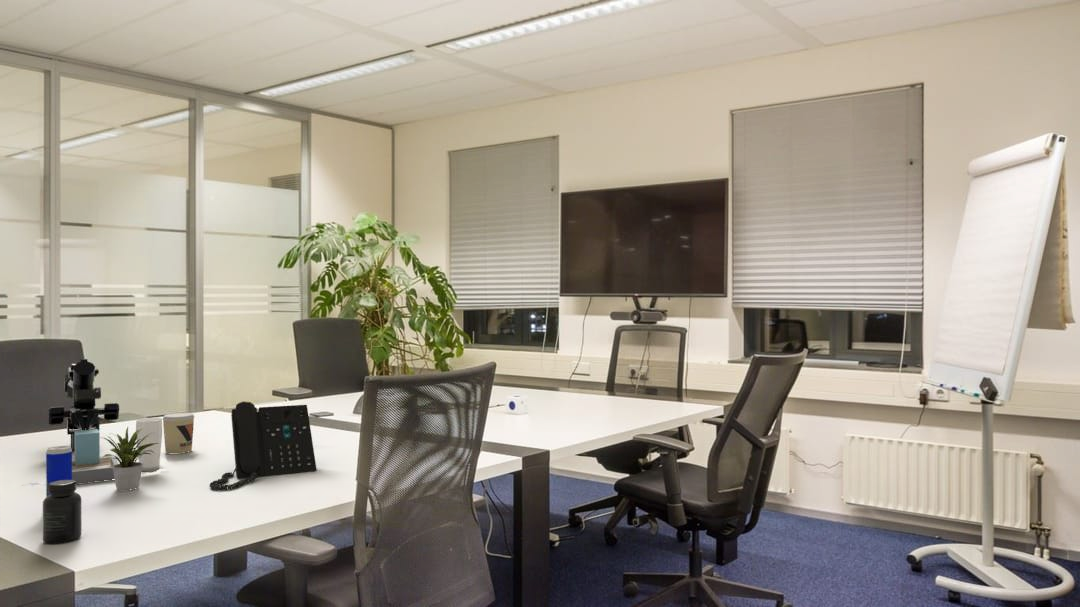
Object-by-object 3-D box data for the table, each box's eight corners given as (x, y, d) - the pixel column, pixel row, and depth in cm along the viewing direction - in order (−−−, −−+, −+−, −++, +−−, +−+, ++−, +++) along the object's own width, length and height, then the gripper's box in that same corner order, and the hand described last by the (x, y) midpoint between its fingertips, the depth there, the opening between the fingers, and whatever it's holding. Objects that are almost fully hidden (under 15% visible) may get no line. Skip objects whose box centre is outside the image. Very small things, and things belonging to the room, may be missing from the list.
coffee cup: (181, 455, 240) (181, 417, 240) (156, 453, 242) (156, 416, 242) (200, 449, 249) (200, 413, 249) (175, 448, 251) (175, 412, 251)
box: (61, 475, 213) (61, 463, 213) (114, 469, 220) (114, 457, 220) (63, 486, 201) (62, 473, 201) (119, 479, 208) (119, 466, 208)
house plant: (111, 499, 188) (110, 434, 187) (82, 492, 195) (81, 429, 195) (165, 487, 200) (165, 426, 200) (136, 480, 207) (136, 421, 207)
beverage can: (54, 508, 180) (53, 445, 180) (76, 507, 181) (76, 445, 181) (41, 514, 175) (41, 450, 175) (64, 513, 176) (64, 449, 175)
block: (74, 461, 224) (74, 431, 224) (97, 458, 228) (97, 429, 227) (75, 465, 218) (75, 434, 218) (99, 463, 222) (99, 432, 222)
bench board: (60, 467, 222) (60, 462, 222) (111, 462, 230) (111, 457, 230) (62, 475, 213) (62, 469, 213) (114, 469, 220) (114, 464, 220)
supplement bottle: (59, 533, 161) (58, 478, 161) (89, 534, 160) (88, 478, 160) (34, 544, 154) (34, 486, 154) (65, 545, 154) (65, 486, 153)
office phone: (210, 493, 195) (210, 415, 195) (202, 470, 220) (202, 402, 220) (325, 480, 209) (325, 408, 209) (305, 460, 234) (305, 396, 234)
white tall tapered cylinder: (167, 469, 220) (167, 418, 220) (148, 474, 214) (148, 422, 214) (149, 467, 223) (149, 417, 223) (130, 472, 216) (130, 420, 216)
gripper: (48, 381, 229) (49, 422, 220) (118, 377, 239) (122, 416, 230) (48, 403, 235) (49, 444, 226) (116, 399, 246) (119, 438, 237)
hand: (85, 435), depth 230 cm, fingers closed
